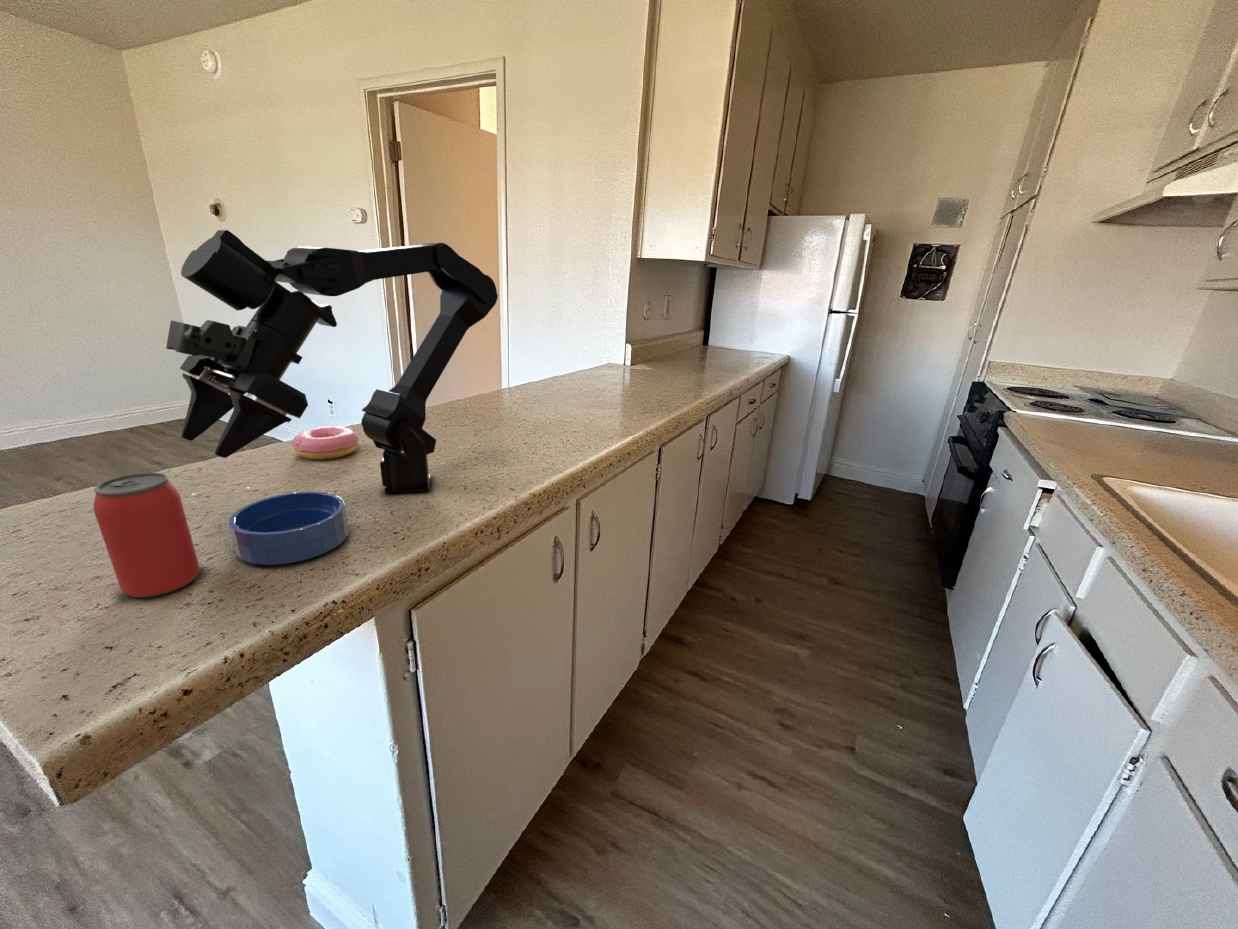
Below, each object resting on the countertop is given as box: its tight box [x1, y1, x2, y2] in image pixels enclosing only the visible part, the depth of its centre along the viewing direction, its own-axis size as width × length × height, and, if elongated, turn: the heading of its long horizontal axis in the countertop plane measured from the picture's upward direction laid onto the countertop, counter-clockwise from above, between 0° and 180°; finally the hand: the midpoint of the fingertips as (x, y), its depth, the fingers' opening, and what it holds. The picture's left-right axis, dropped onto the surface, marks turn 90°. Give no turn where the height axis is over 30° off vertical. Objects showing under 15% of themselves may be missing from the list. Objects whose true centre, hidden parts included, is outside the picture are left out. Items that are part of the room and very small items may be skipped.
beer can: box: [93, 471, 201, 598], centre depth 54 cm, size 7×7×12 cm
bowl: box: [228, 491, 350, 566], centre depth 64 cm, size 12×12×4 cm
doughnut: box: [291, 425, 360, 460], centre depth 96 cm, size 11×11×4 cm
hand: (202, 447), depth 59 cm, fingers open, 9 cm apart
